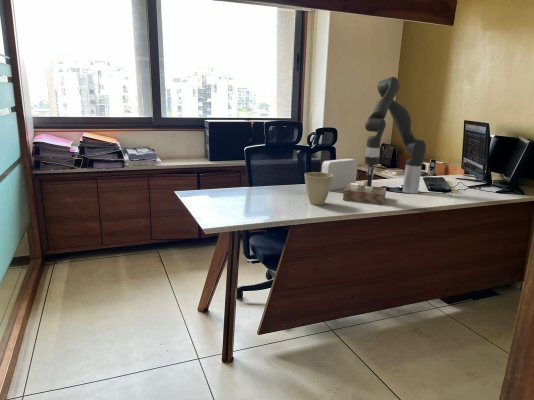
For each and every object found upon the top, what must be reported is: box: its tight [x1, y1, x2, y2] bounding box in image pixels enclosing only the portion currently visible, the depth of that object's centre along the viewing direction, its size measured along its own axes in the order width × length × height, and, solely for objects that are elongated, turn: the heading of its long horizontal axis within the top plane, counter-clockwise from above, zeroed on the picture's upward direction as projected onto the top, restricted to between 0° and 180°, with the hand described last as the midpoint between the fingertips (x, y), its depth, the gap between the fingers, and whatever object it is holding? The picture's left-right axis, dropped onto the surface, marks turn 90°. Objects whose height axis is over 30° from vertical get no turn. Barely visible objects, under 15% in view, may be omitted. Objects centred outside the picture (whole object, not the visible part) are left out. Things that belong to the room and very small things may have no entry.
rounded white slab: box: [321, 158, 358, 192], centre depth 243 cm, size 29×8×18 cm, turn 129°
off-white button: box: [350, 182, 359, 190], centre depth 214 cm, size 4×4×5 cm
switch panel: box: [342, 184, 387, 206], centre depth 217 cm, size 22×18×6 cm
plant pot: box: [304, 171, 333, 206], centre depth 202 cm, size 15×15×16 cm
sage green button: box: [364, 186, 374, 192], centre depth 212 cm, size 4×4×5 cm
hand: (369, 186), depth 211 cm, fingers closed
